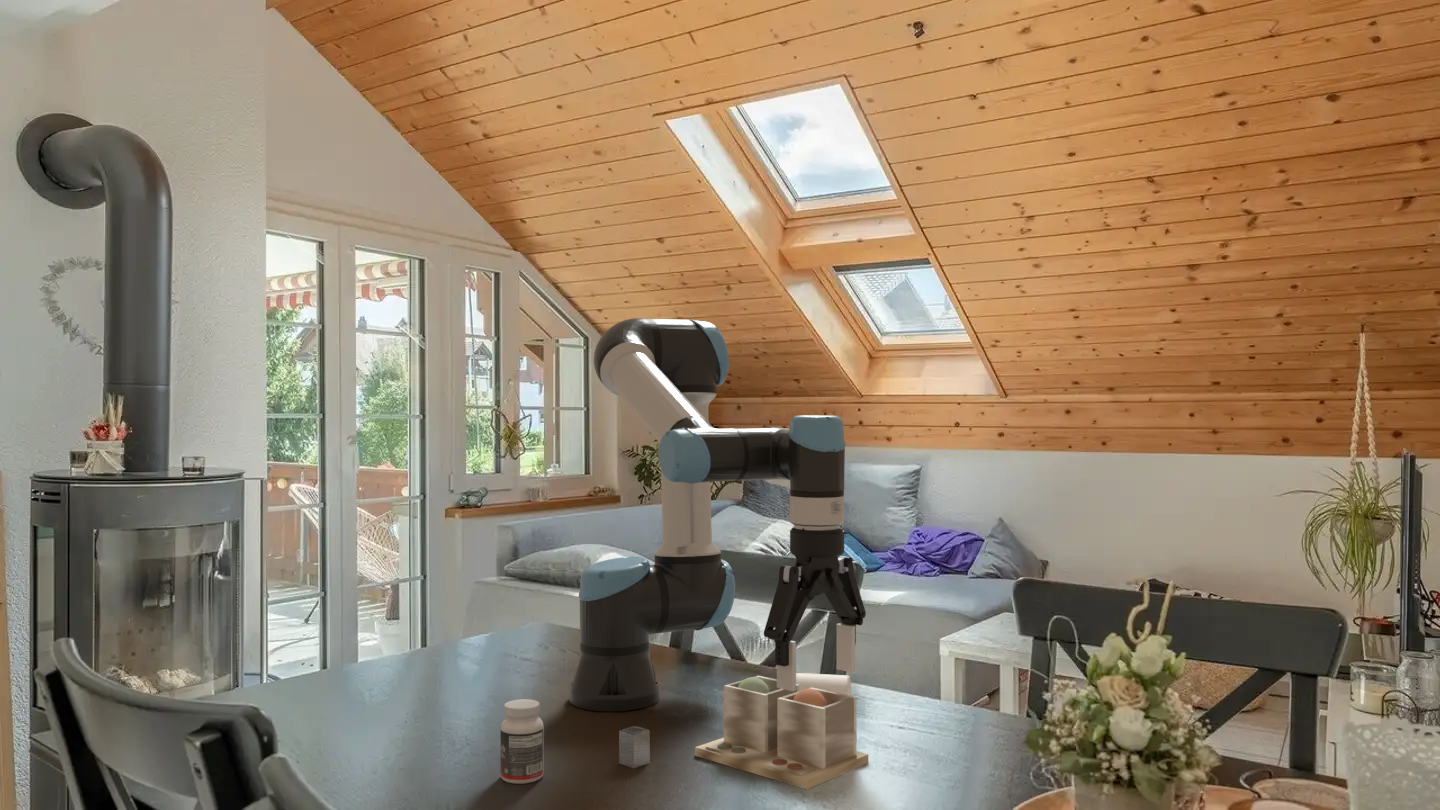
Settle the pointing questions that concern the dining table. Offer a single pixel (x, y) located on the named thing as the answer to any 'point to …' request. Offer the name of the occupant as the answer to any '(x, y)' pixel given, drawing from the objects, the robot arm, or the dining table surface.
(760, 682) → the ball sage upper
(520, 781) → the pill bottle
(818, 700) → the ball terracotta
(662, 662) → the dining table surface
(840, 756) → the rack
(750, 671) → the dining table surface
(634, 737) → the post
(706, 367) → the robot arm
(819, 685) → the mug
